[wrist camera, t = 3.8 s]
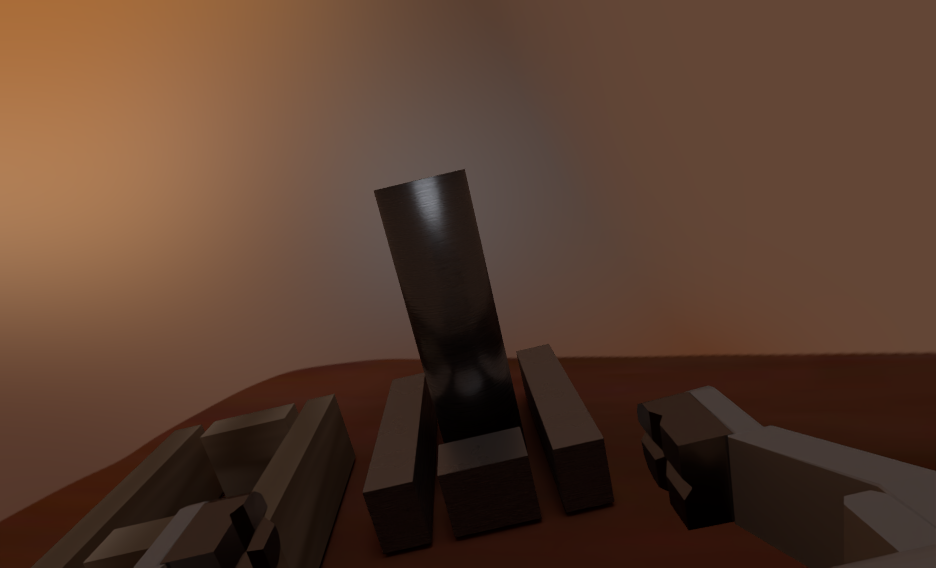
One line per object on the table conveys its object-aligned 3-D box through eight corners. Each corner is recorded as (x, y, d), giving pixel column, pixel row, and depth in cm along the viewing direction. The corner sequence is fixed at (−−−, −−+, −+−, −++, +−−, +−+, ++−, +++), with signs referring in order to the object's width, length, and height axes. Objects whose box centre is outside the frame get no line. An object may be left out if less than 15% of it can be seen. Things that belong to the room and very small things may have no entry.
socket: (557, 388, 27) (548, 344, 26) (614, 501, 18) (603, 438, 17) (405, 423, 27) (392, 379, 26) (383, 553, 18) (362, 492, 17)
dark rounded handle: (520, 423, 24) (463, 169, 21) (533, 471, 21) (466, 169, 17) (449, 439, 24) (381, 188, 21) (450, 490, 21) (365, 192, 17)
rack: (355, 456, 25) (334, 394, 24) (306, 608, 16) (269, 520, 15) (202, 490, 25) (175, 430, 24) (72, 660, 16) (20, 577, 15)
